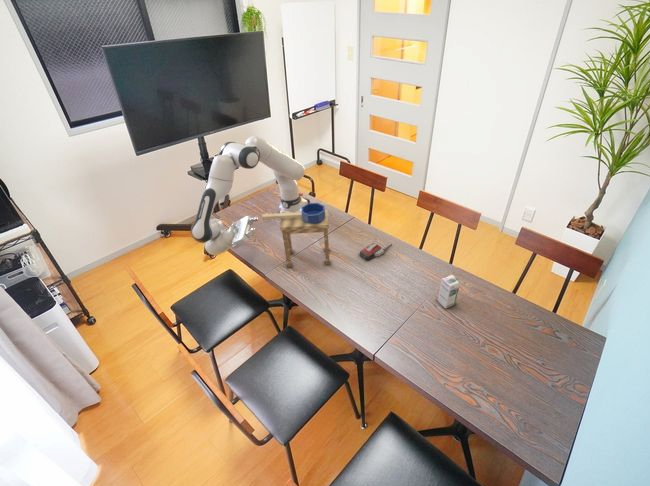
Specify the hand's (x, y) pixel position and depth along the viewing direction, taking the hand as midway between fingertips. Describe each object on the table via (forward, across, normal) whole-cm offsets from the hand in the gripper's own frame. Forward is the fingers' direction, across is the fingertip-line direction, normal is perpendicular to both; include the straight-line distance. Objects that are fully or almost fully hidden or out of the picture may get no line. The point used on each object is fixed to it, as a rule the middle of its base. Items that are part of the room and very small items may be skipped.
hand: (256, 223), depth 161 cm
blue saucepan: (+17, 0, +8) cm, 19 cm away
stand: (+8, 0, +33) cm, 34 cm away
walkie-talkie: (+40, +2, +52) cm, 65 cm away
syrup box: (+63, -38, +65) cm, 98 cm away
